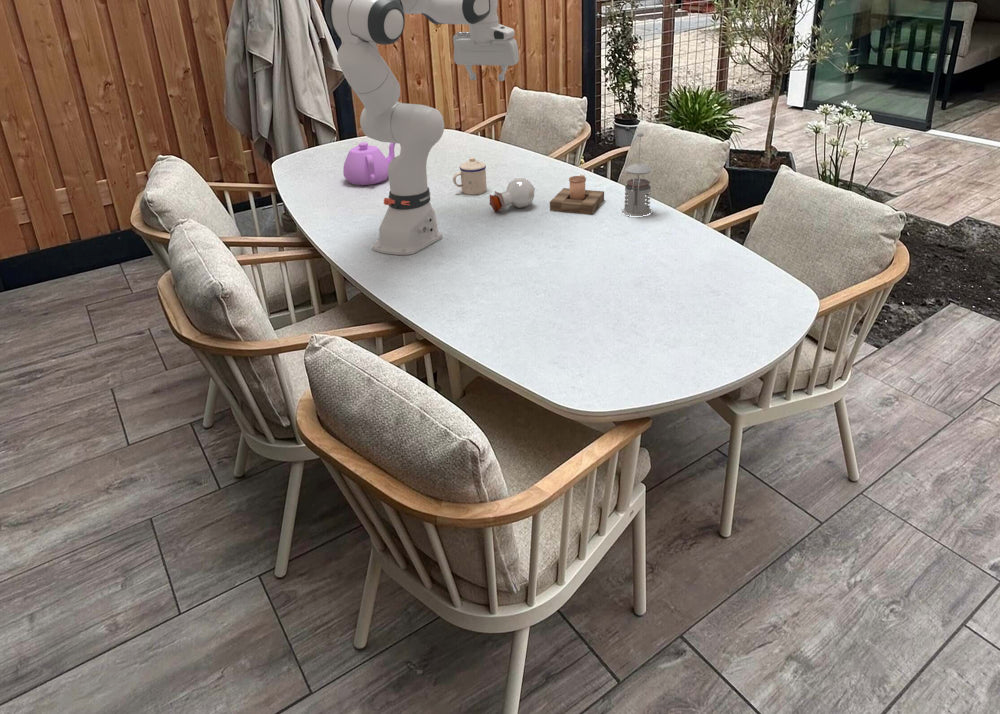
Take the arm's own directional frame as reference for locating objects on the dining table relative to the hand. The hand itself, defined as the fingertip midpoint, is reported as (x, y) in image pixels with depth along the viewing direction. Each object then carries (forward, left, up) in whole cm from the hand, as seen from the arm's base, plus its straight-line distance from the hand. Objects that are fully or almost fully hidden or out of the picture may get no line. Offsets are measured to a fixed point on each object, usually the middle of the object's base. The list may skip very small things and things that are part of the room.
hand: (487, 80), depth 234 cm
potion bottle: (-3, -8, -40) cm, 41 cm away
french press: (+3, -47, -40) cm, 62 cm away
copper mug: (+6, -27, -39) cm, 48 cm away
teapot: (+13, +54, -40) cm, 68 cm away
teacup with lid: (+9, +13, -40) cm, 42 cm away
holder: (+5, -27, -39) cm, 48 cm away
